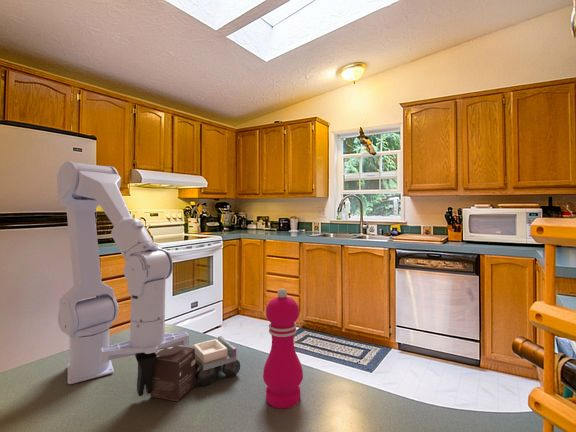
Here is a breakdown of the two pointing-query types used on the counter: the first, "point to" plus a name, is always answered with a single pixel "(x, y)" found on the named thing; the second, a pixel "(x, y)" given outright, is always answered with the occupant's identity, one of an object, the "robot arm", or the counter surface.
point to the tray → (210, 350)
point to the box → (173, 373)
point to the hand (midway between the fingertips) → (146, 391)
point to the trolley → (228, 365)
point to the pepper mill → (282, 353)
